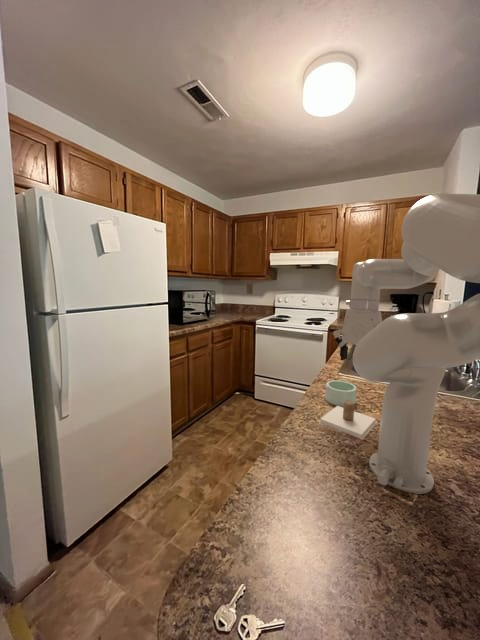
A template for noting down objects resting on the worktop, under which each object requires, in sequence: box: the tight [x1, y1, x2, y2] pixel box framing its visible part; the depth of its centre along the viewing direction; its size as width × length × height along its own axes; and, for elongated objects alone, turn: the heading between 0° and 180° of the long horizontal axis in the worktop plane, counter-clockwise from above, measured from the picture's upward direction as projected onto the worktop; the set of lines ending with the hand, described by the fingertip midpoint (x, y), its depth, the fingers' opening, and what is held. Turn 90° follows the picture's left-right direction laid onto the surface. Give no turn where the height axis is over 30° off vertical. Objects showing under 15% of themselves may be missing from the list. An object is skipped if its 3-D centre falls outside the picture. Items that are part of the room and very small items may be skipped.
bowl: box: [324, 379, 358, 408], centre depth 96 cm, size 10×10×6 cm
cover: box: [319, 401, 376, 438], centre depth 81 cm, size 12×12×6 cm
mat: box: [317, 420, 378, 440], centre depth 82 cm, size 13×13×1 cm
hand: (359, 363), depth 80 cm, fingers open, 9 cm apart
